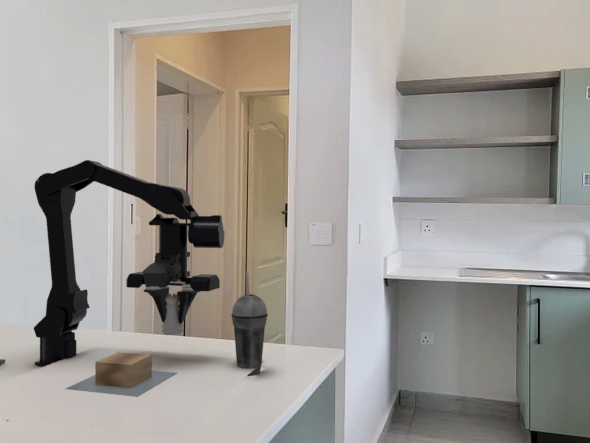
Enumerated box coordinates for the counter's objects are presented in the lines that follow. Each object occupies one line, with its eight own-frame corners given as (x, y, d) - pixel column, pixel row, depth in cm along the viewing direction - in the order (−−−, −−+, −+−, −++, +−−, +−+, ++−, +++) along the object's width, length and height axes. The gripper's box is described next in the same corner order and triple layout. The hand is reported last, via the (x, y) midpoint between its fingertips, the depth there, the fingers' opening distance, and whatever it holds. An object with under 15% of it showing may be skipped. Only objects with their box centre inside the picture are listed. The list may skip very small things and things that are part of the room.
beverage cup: (273, 370, 111) (274, 271, 110) (256, 379, 104) (257, 275, 104) (242, 365, 114) (243, 269, 113) (223, 374, 107) (224, 273, 107)
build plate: (64, 397, 93) (64, 388, 93) (112, 374, 107) (113, 366, 107) (137, 405, 90) (137, 396, 90) (177, 380, 103) (177, 372, 103)
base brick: (95, 384, 96) (95, 361, 96) (118, 373, 102) (118, 352, 102) (130, 388, 94) (130, 364, 94) (151, 376, 101) (151, 354, 101)
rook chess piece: (178, 335, 111) (178, 296, 110) (157, 334, 111) (158, 295, 111) (187, 331, 115) (187, 293, 115) (167, 330, 116) (167, 292, 116)
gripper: (110, 248, 108) (110, 327, 108) (197, 251, 103) (197, 333, 103) (141, 245, 118) (140, 317, 119) (220, 247, 113) (220, 322, 114)
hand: (172, 322), depth 113 cm, fingers closed on rook chess piece, 3 cm apart
